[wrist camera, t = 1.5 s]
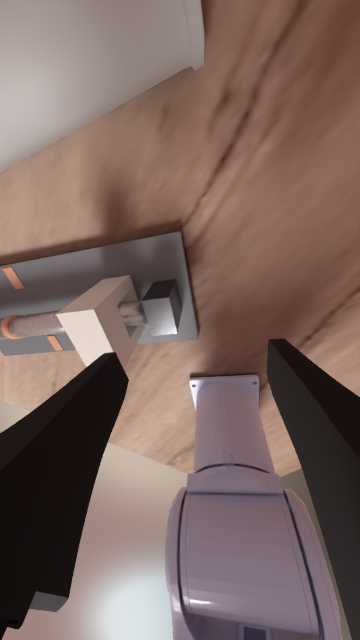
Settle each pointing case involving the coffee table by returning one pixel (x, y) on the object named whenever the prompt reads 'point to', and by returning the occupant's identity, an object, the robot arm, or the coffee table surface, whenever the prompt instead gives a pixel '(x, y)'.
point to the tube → (85, 62)
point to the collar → (102, 321)
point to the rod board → (85, 272)
